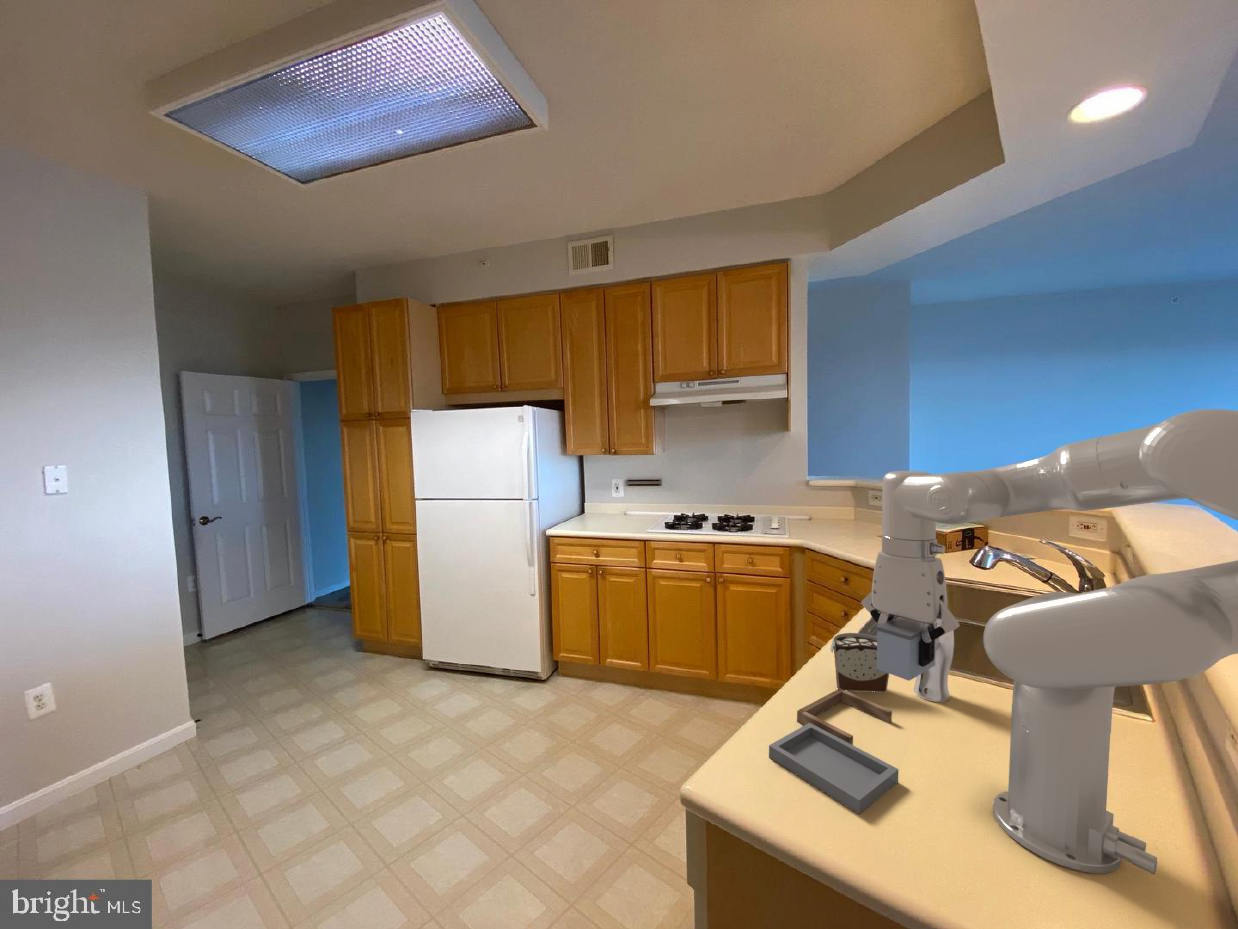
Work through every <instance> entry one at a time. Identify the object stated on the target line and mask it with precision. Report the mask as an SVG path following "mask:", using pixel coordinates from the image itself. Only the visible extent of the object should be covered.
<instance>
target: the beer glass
mask: <svg viewBox="0 0 1238 929" xmlns="http://www.w3.org/2000/svg"><path fill="white" fill-rule="evenodd" d="M935 623H937V627H939V626H941V625H943V624H944V621H943V620H942V619H936V622H935ZM937 627H936V628H937ZM954 631H955V630H953V631H950V632H948V633H946V634H944V635H942V636H940V637H939V638H937V639H936V655H935V666H933V667H931V668H930V669H928V670H926V671H925V672H923V673H921V674H920V675H918V676H916V677H915V682H914V686H913V692H914V694H915V693H916V694H917V695H916V694H915V695H916V696H918V697H919V696H920V697H919V698H920V699H923V700H925V699H927V700H926V701H928V700H929V702H932V701H933V703H939V702H942V703H946V702H949V700H950V692H949V686H948V681H949V680H948V678H949V673H950V671H951V666H952V662H953V658H954V651H955V634H954Z"/></svg>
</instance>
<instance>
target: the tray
mask: <svg viewBox="0 0 1238 929" xmlns="http://www.w3.org/2000/svg"><path fill="white" fill-rule="evenodd" d="M768 759H771V760H772V761H774V762H775V763H777V764H779V766H782V767H783V768H785V769H787V770H788V771H790V772H791V773H793V774H795V775H796V776H798V777H799V778H801V779H802V780H804V781H806V782H807V783H808V784H810V785H811V786H813V787H815V788H817V789H818V790H820V791H821V792H823V793H824V794H826V795H828V796H830V798H832V799H834V800H835V801H837V802H838V803H840V804H842V805H843V806H845V807H846V808H848V809H850V810H851V811H853V812H854V813H856V814H857V815H860V814H861V813H862V812H864V811H865V810H866V809H868V808H869V807H870V806H871V805H872V804H874V803H875V802H876V801H877V800H878V799H879V798H881V797H882V796H883V795H884V794H885V793H886V792H888V791H889V790H891V788H893V787H894V786H895V785H897V783H899V768H897V767H895V766H893V765H891V764H889V763H887V762H886V761H883V760H882V759H881V758H878V757H876V756H874V755H872V754H870V753H869V752H866V751H864V750H862V749H861V748H859V747H857V746H855V745H854V744H853V745H851V744H849V743H848V742H846V741H844V740H842V739H840V738H838V737H836V736H834V735H832V734H830V733H828V732H827V731H825V730H823V729H821V728H819V727H817V726H815V725H813V724H811V723H808V724H806V725H802V726H800V727H799V728H797V729H795V730H794V731H792V732H790V733H788V734H787V735H784V736H783V737H781V738H779V739H778V740H776V741H774V742H773V743H771V744H769V745H768Z"/></svg>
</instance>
